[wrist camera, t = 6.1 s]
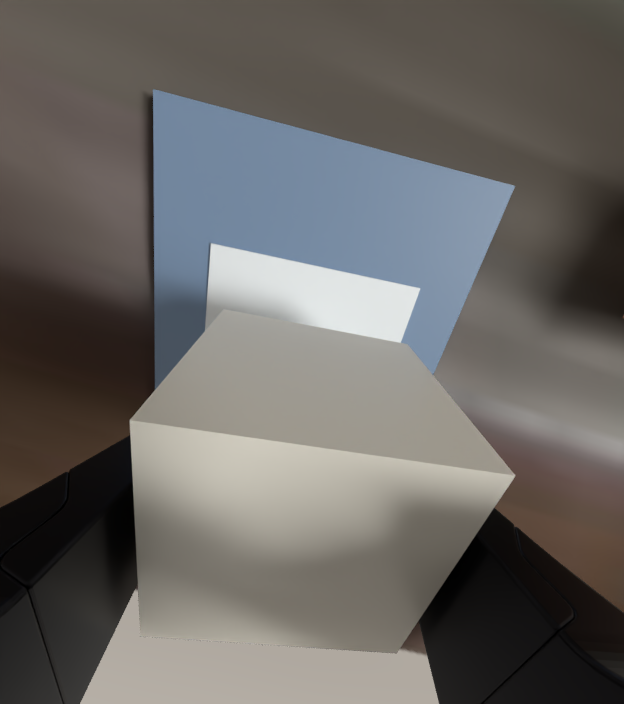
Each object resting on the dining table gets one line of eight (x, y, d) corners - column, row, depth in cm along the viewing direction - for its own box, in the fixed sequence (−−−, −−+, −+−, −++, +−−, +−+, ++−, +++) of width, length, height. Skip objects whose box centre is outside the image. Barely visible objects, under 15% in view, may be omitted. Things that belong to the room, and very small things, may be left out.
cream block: (358, 475, 11) (396, 653, 7) (210, 455, 11) (139, 636, 6) (407, 344, 9) (515, 476, 4) (223, 309, 8) (129, 419, 4)
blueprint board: (375, 496, 17) (377, 505, 17) (159, 468, 16) (154, 478, 15) (506, 187, 11) (516, 185, 10) (160, 95, 9) (151, 87, 9)
